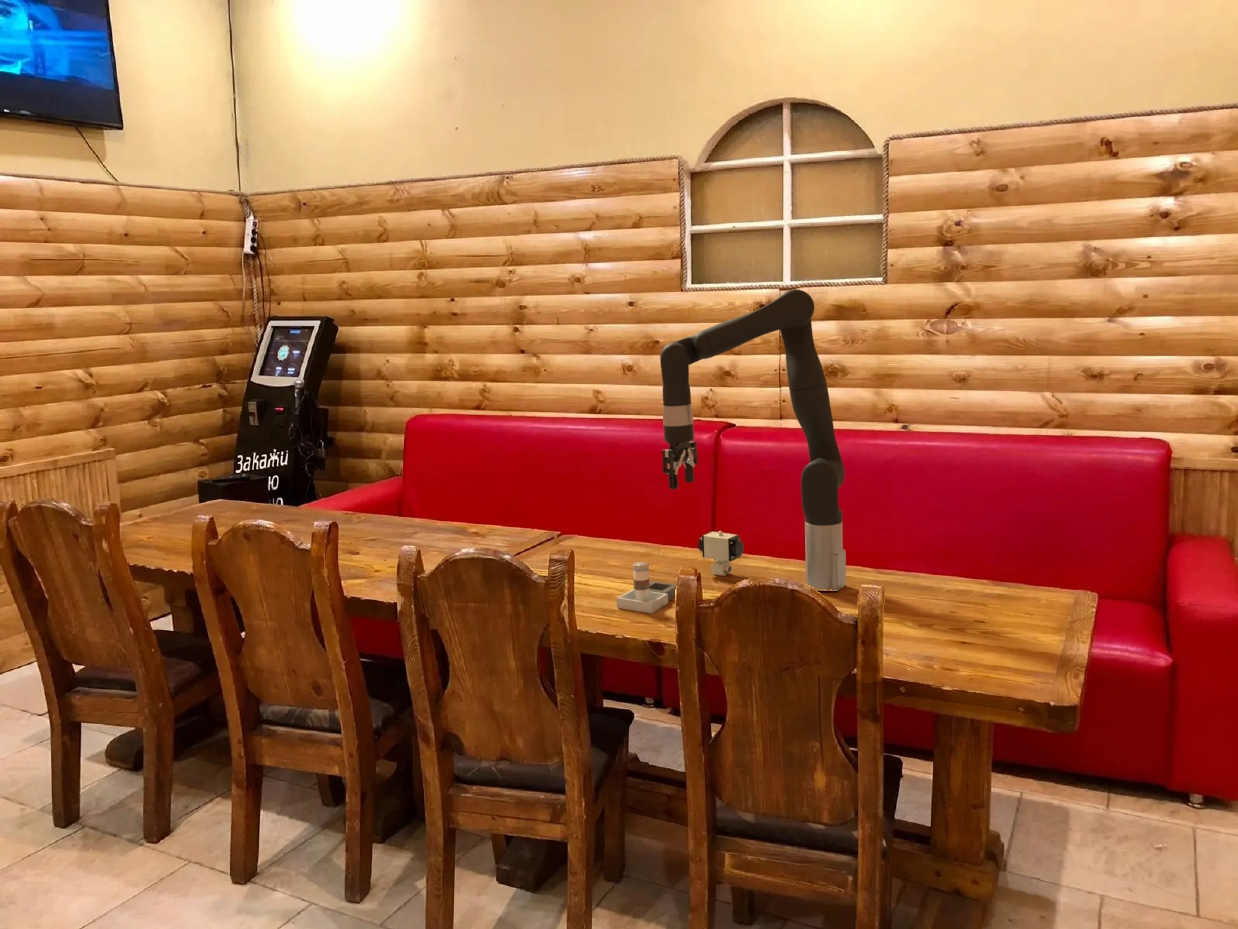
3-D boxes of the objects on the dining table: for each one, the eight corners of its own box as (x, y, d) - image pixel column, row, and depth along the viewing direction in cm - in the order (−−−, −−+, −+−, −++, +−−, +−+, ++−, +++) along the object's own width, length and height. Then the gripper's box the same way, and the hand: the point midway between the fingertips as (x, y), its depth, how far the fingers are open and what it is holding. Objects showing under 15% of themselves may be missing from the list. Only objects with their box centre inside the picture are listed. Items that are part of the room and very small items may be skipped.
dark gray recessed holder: (679, 594, 241) (679, 584, 241) (665, 602, 235) (665, 592, 235) (652, 590, 246) (652, 580, 245) (638, 598, 240) (638, 588, 239)
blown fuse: (653, 601, 234) (651, 563, 233) (645, 606, 231) (643, 567, 229) (640, 599, 237) (637, 561, 235) (631, 604, 233) (629, 565, 232)
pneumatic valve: (736, 579, 251) (734, 535, 249) (698, 573, 258) (697, 530, 256) (746, 574, 255) (745, 530, 253) (709, 568, 262) (707, 526, 260)
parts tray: (668, 603, 235) (667, 593, 234) (651, 613, 228) (651, 603, 228) (634, 598, 240) (633, 588, 240) (616, 607, 233) (616, 598, 233)
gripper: (677, 427, 230) (681, 492, 233) (704, 418, 242) (707, 480, 245) (651, 426, 234) (655, 490, 237) (678, 418, 246) (682, 479, 249)
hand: (681, 485), depth 241 cm, fingers open, 8 cm apart
